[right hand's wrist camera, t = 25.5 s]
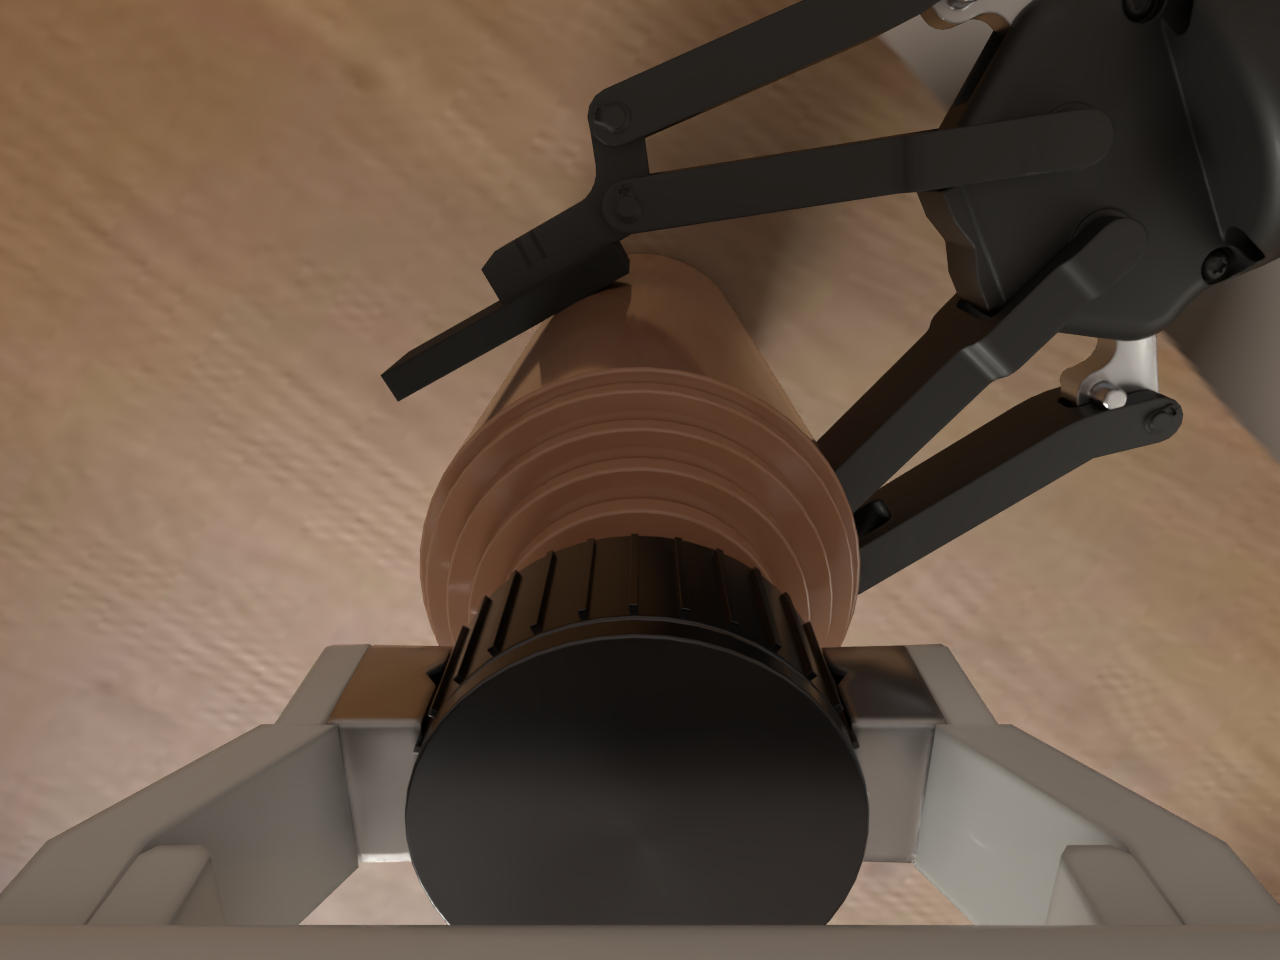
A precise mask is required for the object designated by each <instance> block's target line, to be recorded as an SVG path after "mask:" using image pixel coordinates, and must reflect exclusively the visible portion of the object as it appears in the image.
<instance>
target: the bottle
mask: <svg viewBox="0 0 1280 960" xmlns="http://www.w3.org/2000/svg"><path fill="white" fill-rule="evenodd" d="M627 256H628V258H629V259H630V270H629V274H627V275H625V276H623V277H622V278H620V279H618V280H616V281H614V282H613V283H611V284H609V285H607V286H605V287H604V288H602V289H600V290H598V291H596V292H594V293H593V294H591V295H589V296H587V297H585V298H584V299H582V300H580V301H578V302H575V303H573V304H572V305H570V306H569V307H567V308H565V309H564V310H562V311H560V312H558V313H557V314H555V315H553V316H551V317H549V318H548V319H546V320H544V321H543V322H542V323H541V325H540V326H539V328H538V329H537V331H536V332H535V334H534V336H533V337H532V339H531V340H530V342H529V343H528V345H527V346H526V348H525V349H524V351H523V352H522V354H521V356H520V357H519V359H518V360H517V362H516V363H515V365H514V366H513V368H512V369H511V371H510V372H509V374H508V376H507V377H506V379H505V380H504V382H503V383H502V385H501V386H500V388H499V389H498V391H497V392H496V394H495V396H494V397H493V399H492V400H491V402H490V403H489V405H488V406H487V408H486V409H485V411H484V412H483V414H482V415H481V417H480V419H479V420H478V422H477V423H476V425H475V426H474V428H473V429H472V431H471V432H470V434H469V435H468V437H467V439H466V440H465V442H464V443H463V445H462V446H461V448H460V449H459V451H458V452H457V454H456V455H455V457H454V459H453V460H452V462H451V463H450V465H449V466H448V468H447V469H446V471H445V472H444V474H443V476H442V478H441V480H440V482H439V484H438V487H437V489H436V491H435V493H434V495H433V497H432V499H431V503H430V506H429V509H428V512H427V516H426V519H425V522H424V527H423V533H422V540H421V547H420V580H421V587H422V594H423V601H424V605H425V608H426V612H427V615H428V618H429V622H430V625H431V628H432V630H433V632H434V635H435V637H436V640H437V642H438V645H439V646H454V644H455V642H456V639H457V637H458V634H459V631H460V629H461V627H462V626H463V625H464V626H466V627H467V626H468V625H469V623H470V622H471V620H472V619H473V617H474V616H475V614H476V613H477V610H478V608H479V605H480V602H481V599H482V598H483V597H484V596H485V595H486V596H488V597H490V596H491V595H492V593H493V592H494V591H495V590H496V589H497V588H499V587H500V586H501V585H502V584H503V583H505V582H506V581H507V580H508V579H509V577H510V574H511V573H512V572H513V571H515V570H517V571H518V572H519V571H520V570H522V569H524V568H525V567H527V566H528V565H530V564H531V563H533V562H534V561H537V560H539V559H541V558H543V557H545V556H546V553H547V552H549V551H552V550H553V551H554V552H556V551H558V550H561V549H564V548H567V547H570V546H573V545H576V544H579V543H583V542H587V539H591V538H595V540H598V539H603V538H608V537H621V536H631V534H638V536H656V537H665V538H671V539H674V538H675V537H679V538H682V540H683V541H688V542H691V543H695V544H698V545H702V546H705V547H708V548H712V549H714V550H716V548H718V549H721V550H723V552H724V554H726V555H728V556H730V557H732V558H735V559H737V560H738V561H740V562H742V563H743V564H745V565H747V566H748V567H750V568H752V569H753V568H754V567H756V568H757V569H759V570H760V572H761V575H762V576H763V577H764V578H765V579H767V580H768V581H769V582H770V583H772V584H773V585H774V586H776V587H777V588H778V590H779V591H780V592H781V593H782V594H783V593H784V592H787V593H788V594H789V595H790V597H791V600H792V603H793V606H794V607H795V609H796V610H797V612H798V613H799V614H800V616H801V617H802V619H803V620H804V621H805V623H807V622H809V621H810V622H811V624H812V626H813V628H814V631H815V634H816V636H817V639H818V642H819V644H820V647H821V648H824V647H841V644H842V642H843V640H844V638H845V636H846V633H847V630H848V627H849V625H850V622H851V619H852V616H853V614H854V609H855V604H856V600H857V595H858V590H859V578H860V552H859V540H858V533H857V529H856V525H855V521H854V517H853V512H852V509H851V507H850V504H849V502H848V499H847V497H846V494H845V492H844V489H843V487H842V484H841V483H840V481H839V479H838V478H837V476H836V474H835V472H834V471H833V469H832V467H831V466H830V464H829V462H828V460H827V459H826V457H825V456H824V454H823V452H822V451H821V449H820V448H819V446H818V444H817V443H816V441H815V440H814V438H813V436H812V435H811V433H810V431H809V430H808V428H807V427H806V425H805V423H804V422H803V420H802V419H801V417H800V415H799V414H798V412H797V411H796V409H795V407H794V406H793V404H792V403H791V401H790V399H789V398H788V396H787V395H786V393H785V391H784V390H783V388H782V387H781V385H780V383H779V382H778V380H777V378H776V377H775V375H774V374H773V372H772V370H771V369H770V367H769V366H768V364H767V362H766V361H765V359H764V358H763V356H762V354H761V353H760V351H759V350H758V348H757V346H756V345H755V343H754V342H753V340H752V338H751V337H750V335H749V334H748V332H747V330H746V329H745V327H744V325H743V324H742V322H741V321H740V319H739V317H738V316H737V314H736V313H735V311H734V309H733V308H732V306H731V305H730V303H729V301H728V300H727V298H726V297H725V296H724V294H723V293H722V292H721V290H720V289H719V288H718V287H717V286H716V285H715V284H714V283H713V282H712V281H711V280H710V279H709V278H708V277H707V276H705V275H704V274H703V273H701V272H700V271H698V270H697V269H695V268H693V267H692V266H690V265H688V264H686V263H684V262H681V261H679V260H676V259H674V258H670V257H666V256H662V255H655V254H629V255H627Z"/></svg>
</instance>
